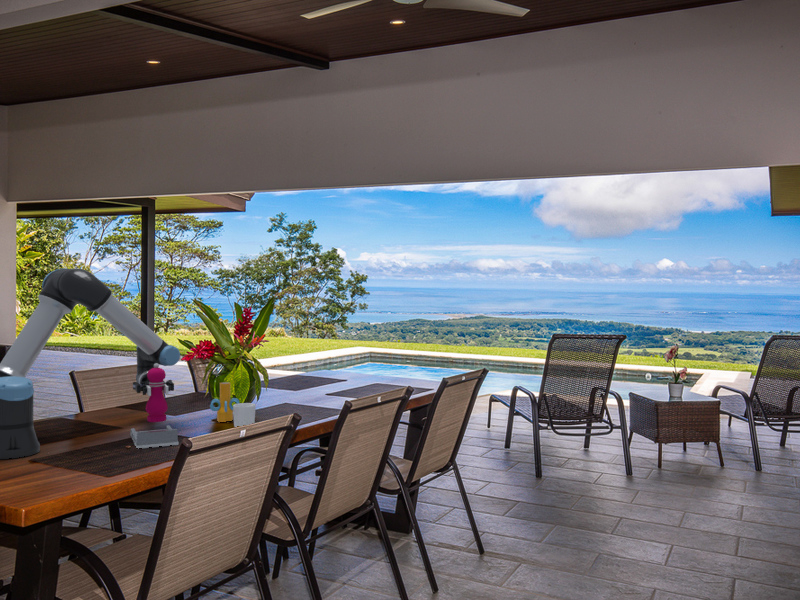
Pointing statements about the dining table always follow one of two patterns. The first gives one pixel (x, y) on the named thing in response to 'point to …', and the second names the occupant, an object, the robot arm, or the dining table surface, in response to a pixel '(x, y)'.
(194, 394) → the dining table surface
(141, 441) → the grey tray
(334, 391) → the dining table surface
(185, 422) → the dining table surface
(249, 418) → the white cup
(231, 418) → the yellow post with rings
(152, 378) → the pepper mill
